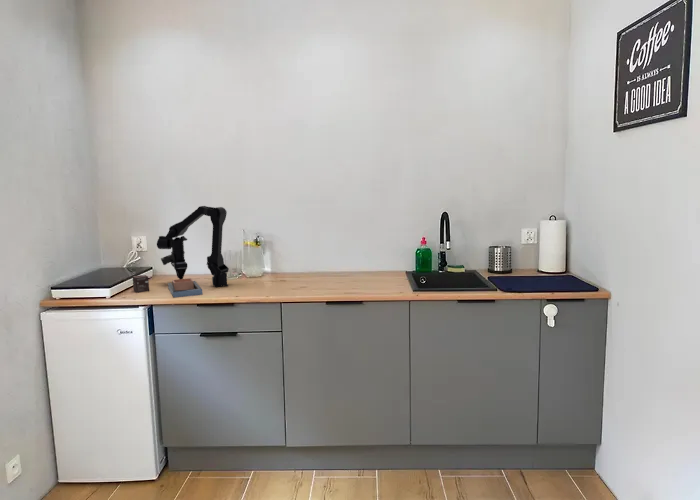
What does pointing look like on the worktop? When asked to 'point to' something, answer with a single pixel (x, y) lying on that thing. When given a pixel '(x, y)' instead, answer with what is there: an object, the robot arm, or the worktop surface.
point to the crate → (183, 284)
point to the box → (140, 283)
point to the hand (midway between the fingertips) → (179, 279)
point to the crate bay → (185, 291)
